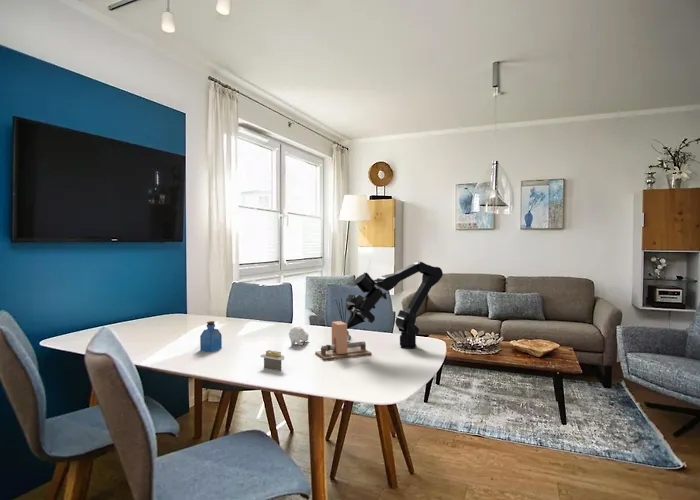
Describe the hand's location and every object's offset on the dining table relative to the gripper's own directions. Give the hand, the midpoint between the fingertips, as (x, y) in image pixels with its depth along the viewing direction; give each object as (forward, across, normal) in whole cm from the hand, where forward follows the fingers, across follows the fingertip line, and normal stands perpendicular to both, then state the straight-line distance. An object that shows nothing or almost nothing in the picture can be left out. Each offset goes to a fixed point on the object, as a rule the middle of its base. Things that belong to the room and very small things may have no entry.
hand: (346, 328), depth 174 cm
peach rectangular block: (+9, 0, +5) cm, 10 cm away
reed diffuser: (+2, -22, +13) cm, 26 cm away
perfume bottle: (+44, -31, -28) cm, 60 cm away
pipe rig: (+9, 0, +6) cm, 11 cm away
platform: (+31, +7, -14) cm, 35 cm away
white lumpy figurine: (+16, -26, 0) cm, 31 cm away
